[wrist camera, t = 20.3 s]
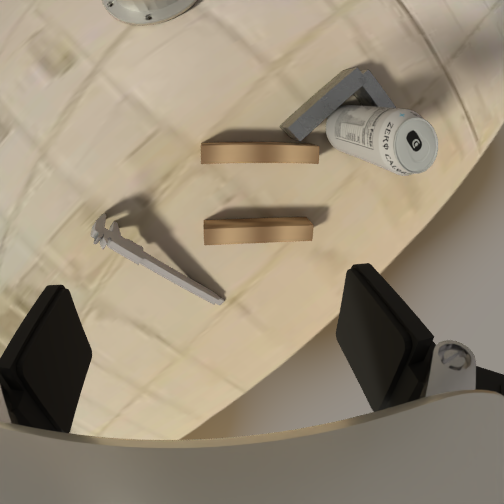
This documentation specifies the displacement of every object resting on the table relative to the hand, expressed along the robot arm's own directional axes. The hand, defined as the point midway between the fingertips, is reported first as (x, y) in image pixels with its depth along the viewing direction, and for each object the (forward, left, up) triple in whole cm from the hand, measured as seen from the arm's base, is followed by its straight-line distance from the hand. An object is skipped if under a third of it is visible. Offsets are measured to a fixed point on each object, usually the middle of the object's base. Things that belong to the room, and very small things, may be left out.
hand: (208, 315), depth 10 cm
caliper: (+12, -6, -29) cm, 32 cm away
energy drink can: (-5, +17, -28) cm, 33 cm away
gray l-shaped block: (-8, +17, -28) cm, 34 cm away
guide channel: (+3, +6, -28) cm, 29 cm away
